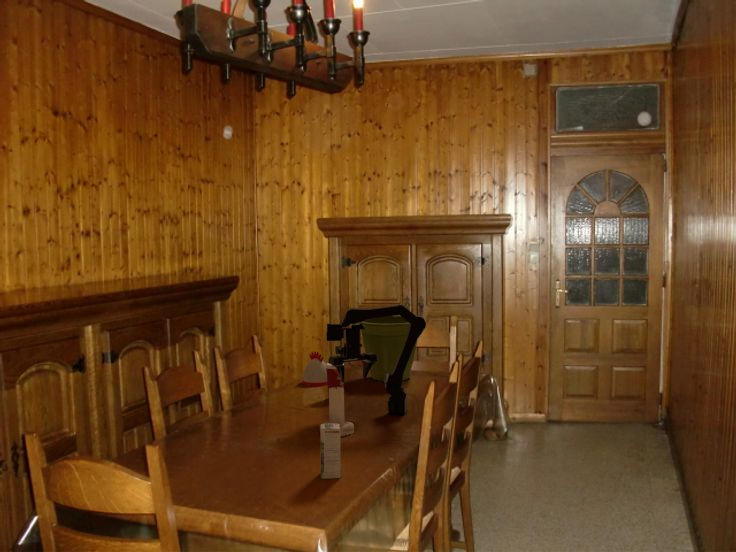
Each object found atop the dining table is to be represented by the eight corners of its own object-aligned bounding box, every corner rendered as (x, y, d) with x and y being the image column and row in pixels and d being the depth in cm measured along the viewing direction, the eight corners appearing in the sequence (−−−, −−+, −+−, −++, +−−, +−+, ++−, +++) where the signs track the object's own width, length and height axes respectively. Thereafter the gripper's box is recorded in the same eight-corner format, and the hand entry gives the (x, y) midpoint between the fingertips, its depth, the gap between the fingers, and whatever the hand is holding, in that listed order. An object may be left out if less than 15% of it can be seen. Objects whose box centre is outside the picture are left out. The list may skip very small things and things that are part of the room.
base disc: (358, 428, 244) (358, 421, 244) (347, 437, 233) (347, 431, 233) (327, 425, 248) (327, 419, 248) (314, 435, 237) (314, 428, 237)
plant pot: (364, 371, 347) (363, 315, 345) (423, 372, 343) (422, 315, 341) (355, 384, 317) (354, 323, 316) (419, 385, 313) (418, 323, 312)
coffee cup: (342, 401, 285) (342, 365, 284) (323, 400, 286) (323, 365, 286) (347, 396, 293) (346, 362, 292) (328, 396, 295) (328, 361, 294)
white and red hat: (315, 378, 332) (314, 348, 331) (337, 382, 323) (337, 350, 323) (296, 384, 320) (295, 352, 319) (318, 387, 312) (318, 355, 311)
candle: (344, 422, 243) (343, 384, 242) (344, 427, 238) (343, 387, 237) (329, 423, 243) (329, 384, 242) (329, 427, 238) (328, 387, 237)
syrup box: (320, 472, 199) (319, 423, 198) (340, 471, 199) (339, 422, 199) (320, 479, 193) (319, 429, 192) (341, 478, 194) (340, 428, 193)
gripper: (365, 336, 274) (365, 374, 274) (322, 340, 265) (323, 379, 266) (378, 339, 264) (378, 379, 265) (334, 343, 255) (334, 385, 256)
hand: (353, 380), depth 263 cm, fingers open, 9 cm apart
